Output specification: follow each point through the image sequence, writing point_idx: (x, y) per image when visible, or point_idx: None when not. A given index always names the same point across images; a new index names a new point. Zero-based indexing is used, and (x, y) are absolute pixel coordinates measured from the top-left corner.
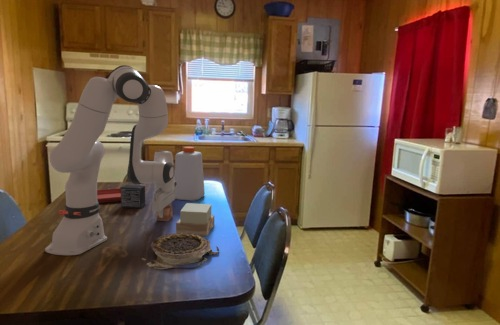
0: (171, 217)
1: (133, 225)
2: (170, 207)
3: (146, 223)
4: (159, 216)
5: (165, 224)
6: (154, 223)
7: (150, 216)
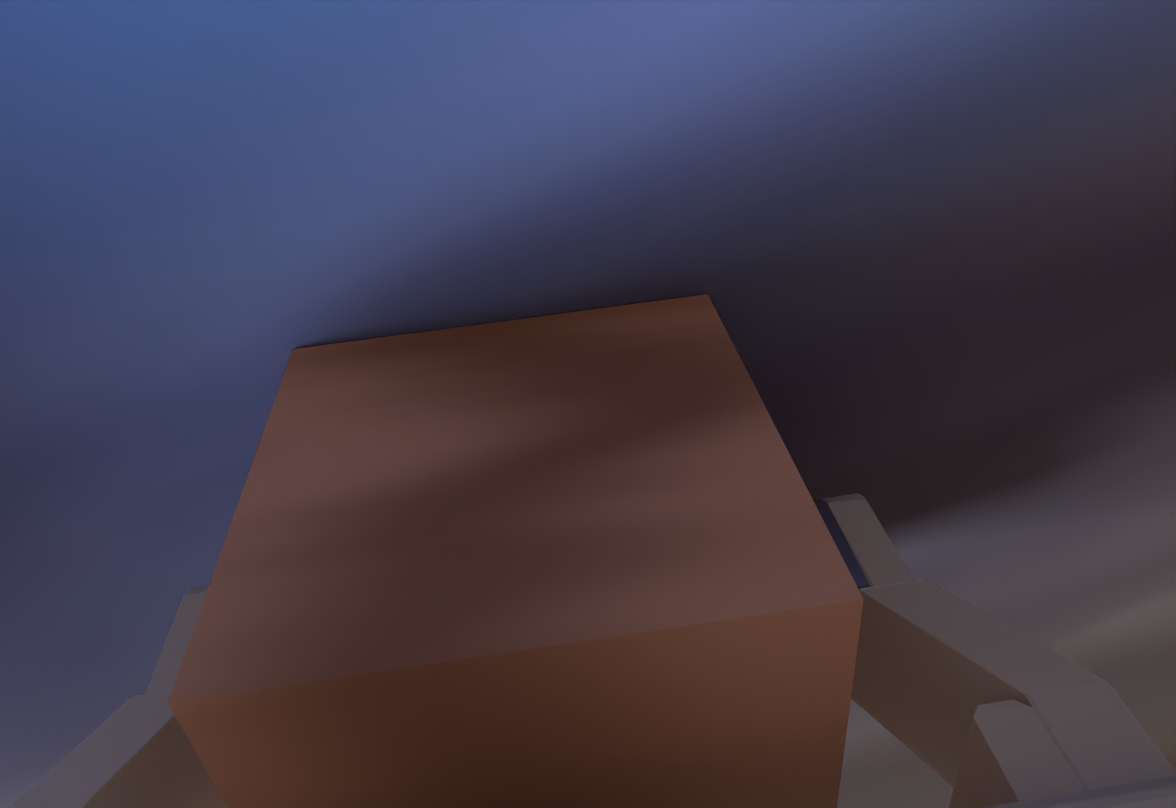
0: (394, 348)
1: None
2: (454, 665)
3: None
4: None
5: (992, 237)
6: (933, 525)
7: None
